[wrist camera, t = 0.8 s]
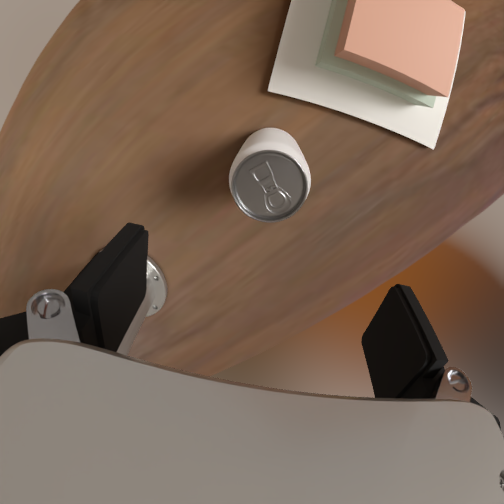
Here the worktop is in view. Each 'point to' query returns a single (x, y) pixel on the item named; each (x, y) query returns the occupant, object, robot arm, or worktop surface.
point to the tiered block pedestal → (373, 60)
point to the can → (269, 176)
